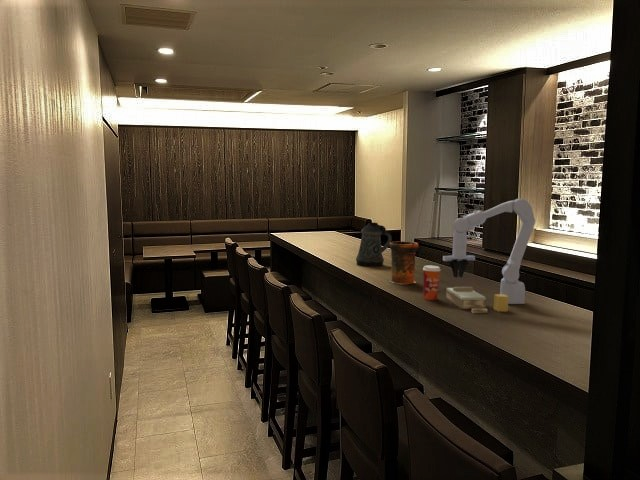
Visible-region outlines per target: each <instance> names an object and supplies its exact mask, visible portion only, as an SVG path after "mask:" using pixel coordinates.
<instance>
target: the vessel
mask: <svg viewBox="0 0 640 480" xmlns="http://www.w3.org/2000/svg"><path fill="white" fill-rule="evenodd" d="M389 248H390V253H391V254H390V256H391V268H390V269H391V279H390V280H389V281H388V283H392V284H397V285H409V284H416V283H417V282H416V281H415V267H416V254H417V250H418V249H419V243H418V242H414V241H391V243H390V244H389Z"/></svg>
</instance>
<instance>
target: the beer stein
mask: <svg viewBox="0 0 640 480" xmlns="http://www.w3.org/2000/svg"><path fill="white" fill-rule="evenodd" d="M360 231H361V237H360V238H361V240H360V244H359V249H358V253H357V256H356V257H355V258H356V259H355V261H356V265H357V266H359V267H360V266H361V267H367V268H369V267H370V268H377V267H382V266H384V260H385V258H384V256H383V252H384V251H386V250H387V249H388V248H389V247H390V245H389V244H390V243H391V242H392V235H391V233H392V232H390V231H388V230H387V229H386V227H385V226H384V225H380V224H378V222H368V224H366V225H365V226H364V227H363V228H362V229H361V230H360ZM381 236H386V237H387V240H386V242H385V244H384V245H383V246H382V238H381Z"/></svg>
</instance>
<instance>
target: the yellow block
mask: <svg viewBox="0 0 640 480" xmlns="http://www.w3.org/2000/svg"><path fill="white" fill-rule="evenodd" d="M493 295H494V296H493V310H495V311H496V310H497V312H508V309H509V304H508V296H506V295H504V294H500V293H497V294H493Z"/></svg>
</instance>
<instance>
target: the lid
mask: <svg viewBox="0 0 640 480" xmlns="http://www.w3.org/2000/svg"><path fill="white" fill-rule="evenodd" d="M446 291H449V292H450V293H452V294H453V295H455V296H456V297H458V298H460V299H461V300H486V299H487V297H486V296H485V295H483V294H481V293H479V292H477V291H475V290H474V287H473V286H453V287H446Z"/></svg>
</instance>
